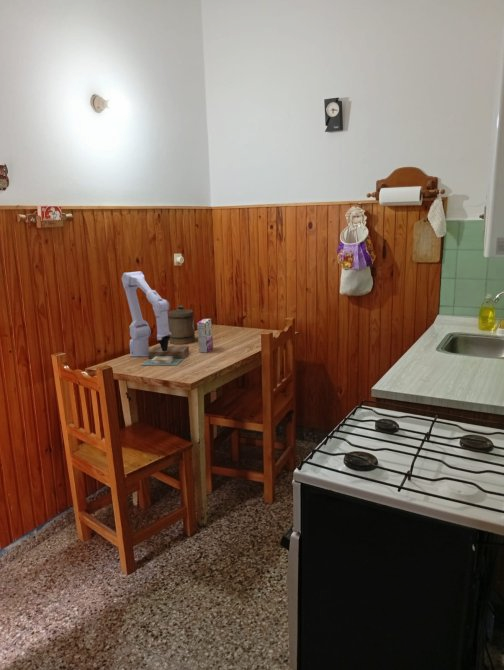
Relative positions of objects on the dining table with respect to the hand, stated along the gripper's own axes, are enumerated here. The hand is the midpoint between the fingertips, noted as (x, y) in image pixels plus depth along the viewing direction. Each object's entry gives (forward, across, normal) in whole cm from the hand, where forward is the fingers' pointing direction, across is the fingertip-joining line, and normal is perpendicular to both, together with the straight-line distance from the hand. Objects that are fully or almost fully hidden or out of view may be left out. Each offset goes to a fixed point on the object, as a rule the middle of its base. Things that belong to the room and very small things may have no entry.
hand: (164, 350), depth 243 cm
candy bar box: (+5, +19, -17) cm, 26 cm away
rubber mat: (+5, -5, 0) cm, 7 cm away
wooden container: (+5, +41, +2) cm, 41 cm away
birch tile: (+2, -5, 0) cm, 6 cm away
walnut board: (+5, +7, 0) cm, 8 cm away
